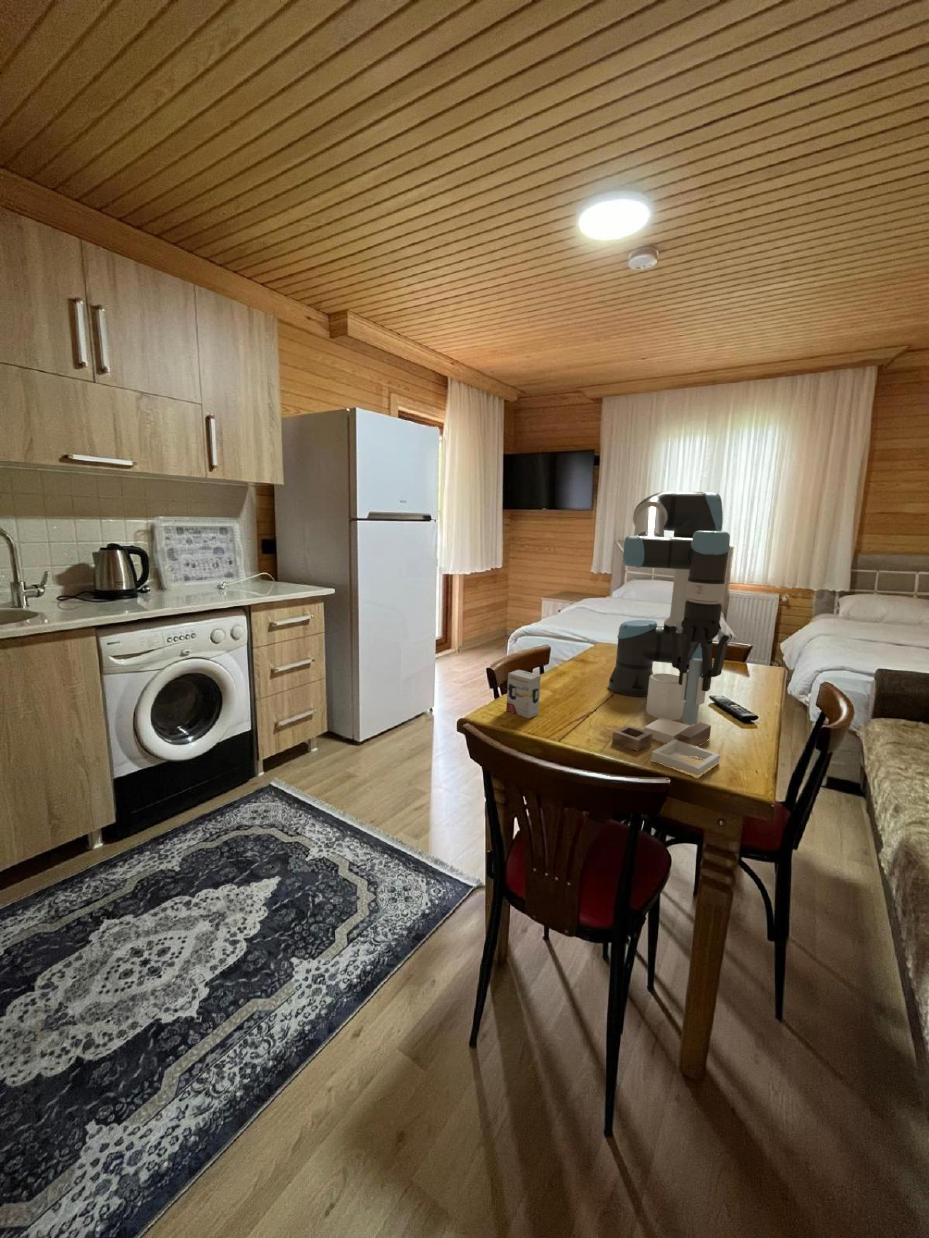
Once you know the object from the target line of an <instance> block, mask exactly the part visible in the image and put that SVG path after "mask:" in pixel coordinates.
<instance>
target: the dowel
mask: <svg viewBox="0 0 929 1238" xmlns="http://www.w3.org/2000/svg"><path fill="white" fill-rule="evenodd" d="M702 675H703V670H702V659H698V658H690V662H689V670H688V680H687V688H686V697H685V700H684V708H683V716H682V722H683V724H686V725H690V726H694V725H696V724H697V723H698V715H699V708H700V705H696V698H697V689H698V681H699V677H700V676H702Z"/></svg>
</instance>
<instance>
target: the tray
mask: <svg viewBox="0 0 929 1238" xmlns="http://www.w3.org/2000/svg"><path fill="white" fill-rule="evenodd" d="M677 756H678V757H677ZM679 756H688V759H687V757H685V758H679ZM689 756H697V757H699V758H698V759H697V758H695V757H690V758H689ZM700 758H702V759H700ZM703 759H705V760H703ZM720 759H721V754H720V753H717V752H714V751H710V750H708V749H705V748H702V747H700V746H699V747H696V746H694V745H691V744H688V743H685V742H682V741H679V740H676V739H674V740H672V741H670V742H669V743H667V744H666V743H664V744H663V745H662V746H660V747H657V748H656V749H654V750H652V751H651V759H650V761H651V760H653V761H656V762H658V763H662V764H664V765H666V766H669V767H674V768H676V769H679V770H684V771H686V772H689V773H693V774H695V775H700V774H701V773H703V772H704V771H705V770H707V769H708V768H710V767H711V766H713V765H714V764H716V763H718V762H719V763H720ZM683 760H703V761H702V762H698V763H699V764H697V765H694V764H691V763H692V761H691V763H690V762H689V763H688V762H686V761H683Z"/></svg>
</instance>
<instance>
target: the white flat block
mask: <svg viewBox="0 0 929 1238" xmlns="http://www.w3.org/2000/svg"><path fill="white" fill-rule="evenodd" d="M690 727H691V725H690V724H686V723H681V722H678V721H675V720H669V719H665V718H662V717H661V718H657V719H656V720H654V721H652V722H650V723H649V724H647V725H645V726H644V727H643V728H644V729H643V730H645V731H648V732H651V733H652V740H654V739H656V740H655V741H657V740H659V741H658V742H660V741H661V743H663V742H664V743H663V744H666V743H669V742H670V741H672V740H674V739H676V740H678V734H679V733H681V732H683V731H684V730H686V729H688V728H690Z"/></svg>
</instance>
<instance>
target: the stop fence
mask: <svg viewBox="0 0 929 1238" xmlns="http://www.w3.org/2000/svg"><path fill="white" fill-rule="evenodd" d="M711 728H712V725H711V724H708V723H703V722H697V724H694V725H691V726H690V728H688V729H686V730H684V731H683V732H681V733H679V734H678V740H679V741H682V742H685V743H688V744H691V745H694V746H699V745H700V744H702V743H704V742H705V743H707V742H708V741H707V740H708V739H709V740H710V739H711V738H710V737H711ZM706 741H707V742H706ZM705 743H704V744H705ZM702 745H703V744H702ZM700 746H701V745H700ZM700 746H699V747H700Z"/></svg>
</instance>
